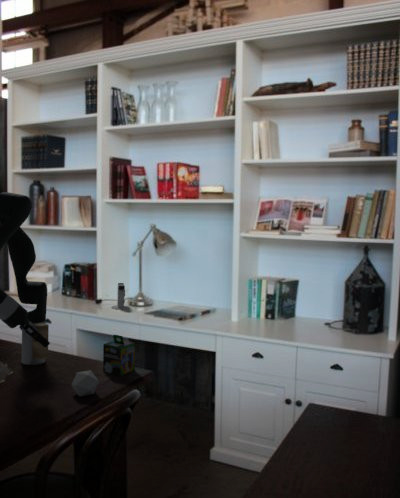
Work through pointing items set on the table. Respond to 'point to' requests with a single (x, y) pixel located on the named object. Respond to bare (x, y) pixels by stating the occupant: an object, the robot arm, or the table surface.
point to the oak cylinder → (38, 348)
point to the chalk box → (118, 356)
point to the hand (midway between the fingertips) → (45, 342)
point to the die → (85, 383)
